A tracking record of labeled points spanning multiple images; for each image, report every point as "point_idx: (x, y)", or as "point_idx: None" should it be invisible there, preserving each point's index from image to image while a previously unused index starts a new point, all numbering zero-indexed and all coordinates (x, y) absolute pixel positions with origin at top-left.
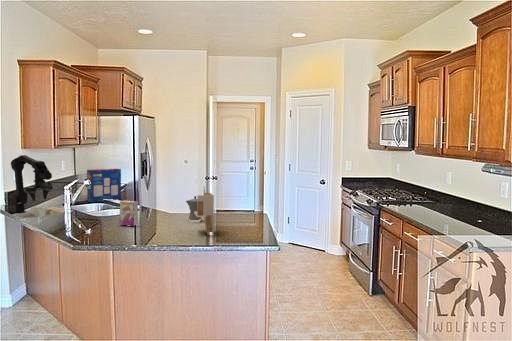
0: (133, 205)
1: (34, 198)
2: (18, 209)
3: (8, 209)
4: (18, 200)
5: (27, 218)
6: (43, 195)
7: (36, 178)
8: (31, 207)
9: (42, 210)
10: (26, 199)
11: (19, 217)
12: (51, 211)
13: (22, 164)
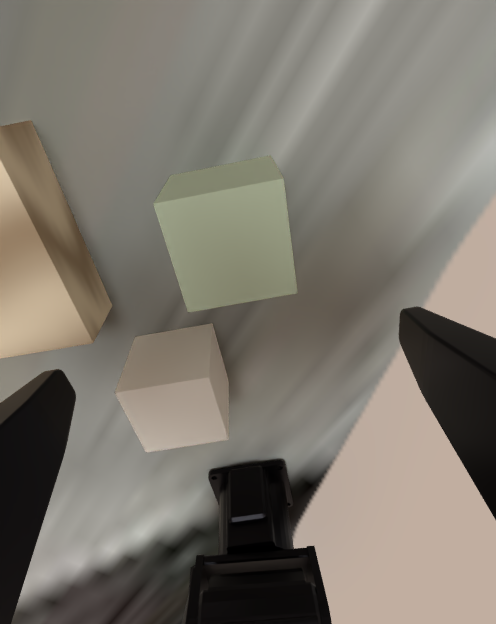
0: None
1: (478, 339)
2: (278, 500)
3: None
4: (315, 592)
5: (431, 174)
6: (40, 512)
7: None
8: (227, 434)
9: (215, 186)
10: (211, 599)
11: (420, 301)
12: (44, 207)
13: None
